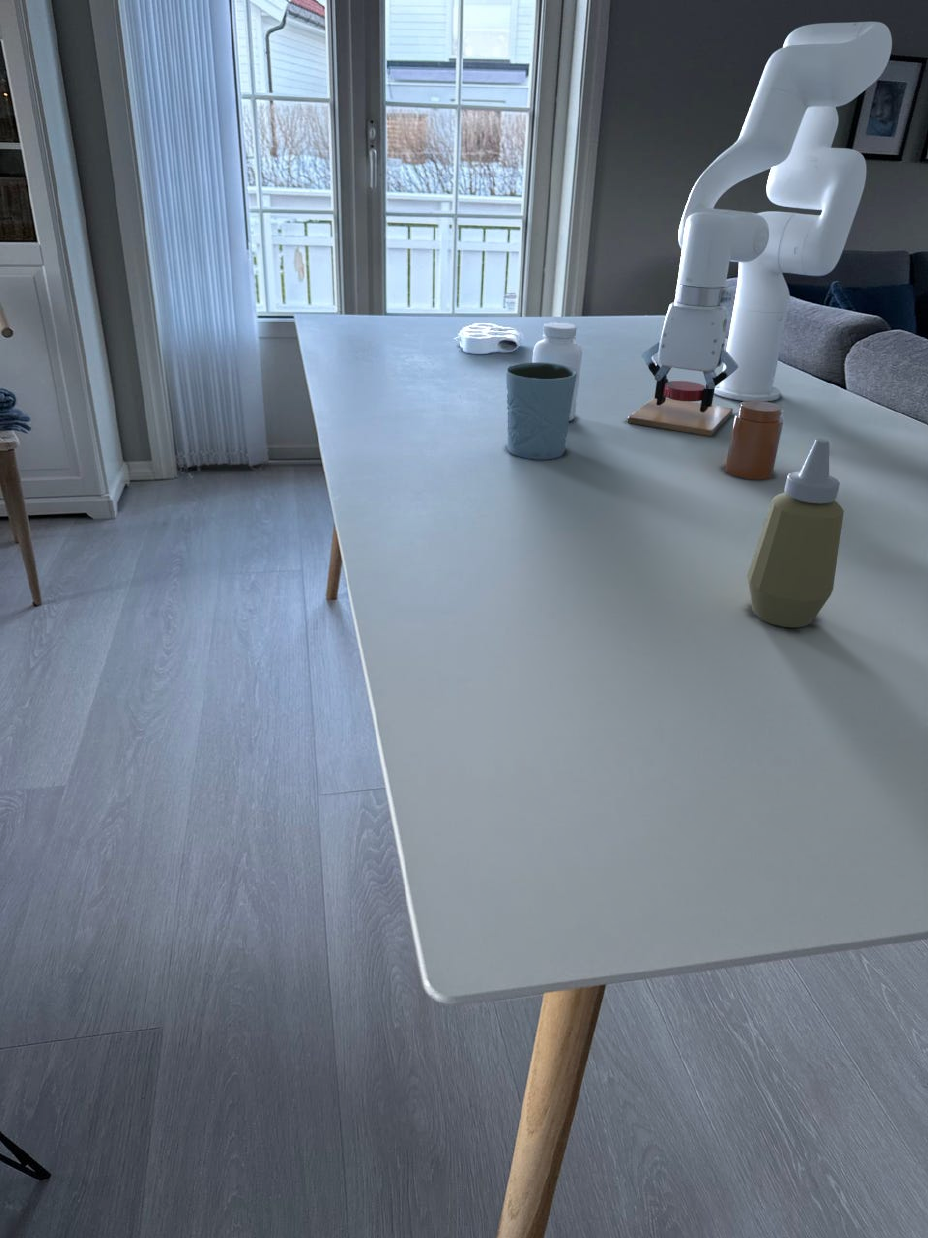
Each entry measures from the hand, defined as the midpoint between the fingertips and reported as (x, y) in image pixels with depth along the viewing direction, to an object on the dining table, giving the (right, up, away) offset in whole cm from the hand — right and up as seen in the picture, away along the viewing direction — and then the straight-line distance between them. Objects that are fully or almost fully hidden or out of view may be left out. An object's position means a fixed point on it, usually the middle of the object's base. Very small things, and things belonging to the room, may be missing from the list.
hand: (682, 406), depth 153 cm
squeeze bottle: (-5, -36, -63) cm, 73 cm away
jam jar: (+4, -15, -23) cm, 28 cm away
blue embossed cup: (-26, -11, -18) cm, 34 cm away
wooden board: (0, -2, +1) cm, 2 cm away
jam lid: (0, +3, -2) cm, 3 cm away
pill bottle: (-22, -2, -1) cm, 22 cm away
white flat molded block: (-32, +25, +49) cm, 63 cm away
